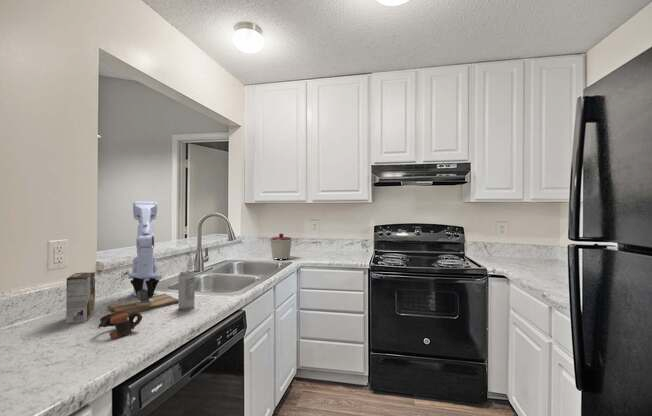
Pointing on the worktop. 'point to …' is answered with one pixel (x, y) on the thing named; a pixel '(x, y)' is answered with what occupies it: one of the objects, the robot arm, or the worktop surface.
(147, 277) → the robot arm
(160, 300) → the board
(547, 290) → the worktop surface
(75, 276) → the coffee box
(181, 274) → the energy drink can
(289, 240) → the canister
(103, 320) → the brown rounded piece
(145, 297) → the grey faceted polyhedron
